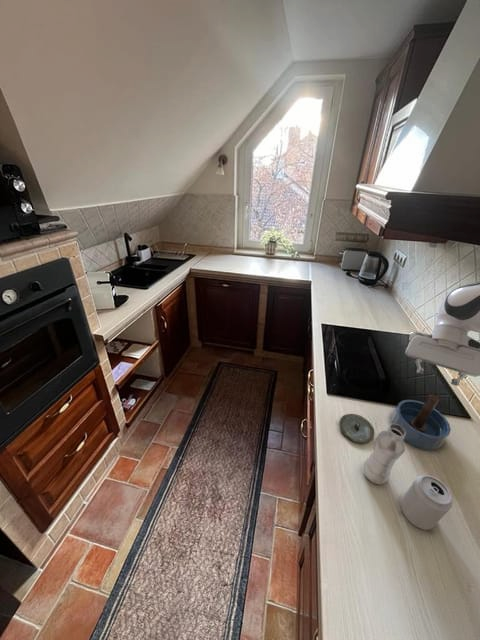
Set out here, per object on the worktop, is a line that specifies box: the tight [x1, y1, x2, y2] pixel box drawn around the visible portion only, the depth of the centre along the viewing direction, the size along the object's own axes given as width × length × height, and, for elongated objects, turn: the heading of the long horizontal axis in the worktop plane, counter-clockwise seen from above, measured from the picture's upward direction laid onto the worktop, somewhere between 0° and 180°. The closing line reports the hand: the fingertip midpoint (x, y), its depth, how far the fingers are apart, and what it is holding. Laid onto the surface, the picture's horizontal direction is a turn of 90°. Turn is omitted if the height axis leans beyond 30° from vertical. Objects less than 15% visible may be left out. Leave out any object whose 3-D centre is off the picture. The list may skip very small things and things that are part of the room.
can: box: [399, 474, 453, 531], centre depth 61 cm, size 8×8×12 cm
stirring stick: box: [409, 393, 440, 433], centre depth 81 cm, size 5×5×15 cm
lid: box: [339, 413, 375, 444], centre depth 83 cm, size 11×10×5 cm
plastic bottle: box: [362, 423, 406, 485], centre depth 67 cm, size 6×7×20 cm
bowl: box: [391, 399, 452, 451], centre depth 83 cm, size 15×15×6 cm
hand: (436, 379), depth 81 cm, fingers open, 8 cm apart
